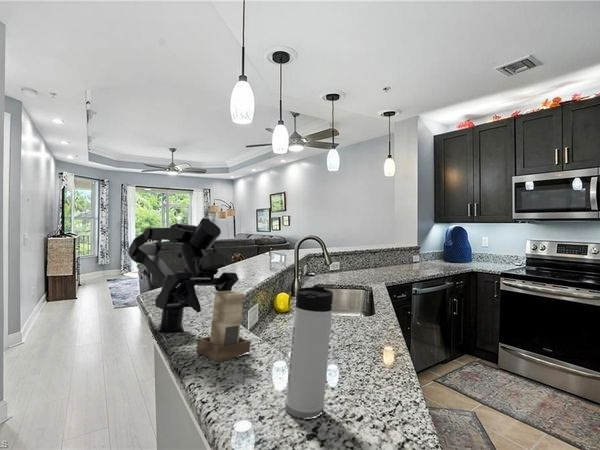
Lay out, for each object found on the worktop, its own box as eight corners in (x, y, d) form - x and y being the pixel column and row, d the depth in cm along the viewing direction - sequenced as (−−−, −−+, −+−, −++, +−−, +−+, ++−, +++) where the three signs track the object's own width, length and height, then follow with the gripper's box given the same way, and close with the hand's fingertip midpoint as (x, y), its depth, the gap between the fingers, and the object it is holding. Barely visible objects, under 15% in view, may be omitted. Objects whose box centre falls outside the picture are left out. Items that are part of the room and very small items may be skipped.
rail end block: (208, 351, 75) (215, 291, 76) (225, 347, 79) (232, 290, 80) (221, 357, 72) (228, 294, 73) (238, 353, 76) (244, 293, 77)
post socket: (196, 351, 75) (198, 338, 75) (227, 344, 82) (228, 333, 82) (218, 362, 70) (219, 348, 70) (249, 354, 77) (250, 341, 77)
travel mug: (327, 405, 55) (337, 288, 56) (317, 424, 49) (328, 292, 50) (293, 396, 57) (304, 284, 59) (279, 413, 51) (291, 287, 52)
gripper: (179, 238, 77) (199, 292, 69) (238, 244, 91) (261, 289, 84) (157, 266, 81) (174, 320, 73) (217, 268, 96) (237, 313, 88)
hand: (215, 310), depth 79 cm, fingers open, 9 cm apart
